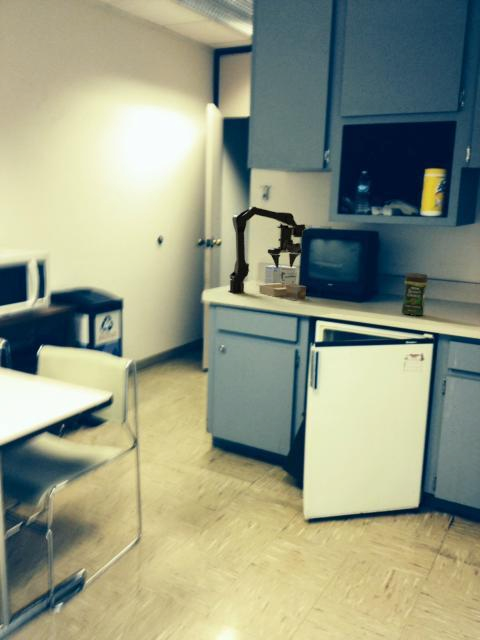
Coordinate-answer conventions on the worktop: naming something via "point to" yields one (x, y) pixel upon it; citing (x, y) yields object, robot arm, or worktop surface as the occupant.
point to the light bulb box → (272, 274)
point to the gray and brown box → (295, 291)
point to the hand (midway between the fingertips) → (284, 267)
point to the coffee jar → (414, 294)
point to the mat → (294, 299)
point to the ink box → (288, 275)
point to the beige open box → (273, 289)
